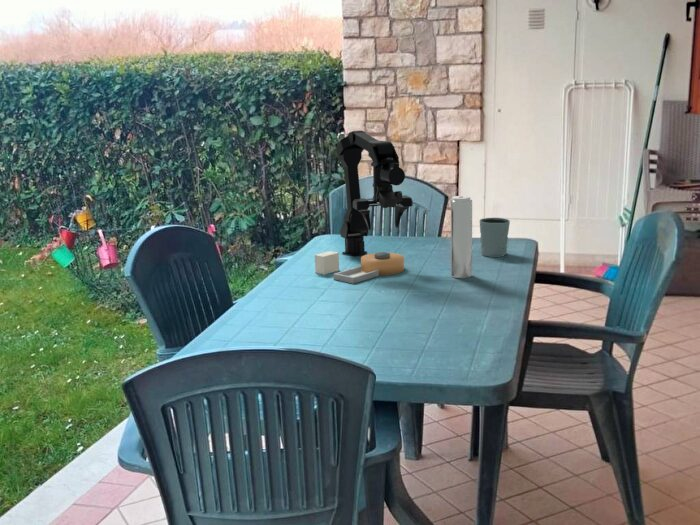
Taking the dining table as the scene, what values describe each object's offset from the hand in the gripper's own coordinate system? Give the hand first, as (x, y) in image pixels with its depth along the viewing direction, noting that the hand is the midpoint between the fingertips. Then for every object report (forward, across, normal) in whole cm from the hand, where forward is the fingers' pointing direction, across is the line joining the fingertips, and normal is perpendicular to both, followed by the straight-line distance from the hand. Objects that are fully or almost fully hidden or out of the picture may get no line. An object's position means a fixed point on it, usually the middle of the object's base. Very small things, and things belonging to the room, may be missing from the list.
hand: (383, 228), depth 262 cm
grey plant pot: (+13, +41, +3) cm, 43 cm away
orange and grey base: (+13, -6, -6) cm, 15 cm away
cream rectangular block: (+13, -19, +2) cm, 23 cm away
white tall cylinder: (+13, +19, -20) cm, 30 cm away
